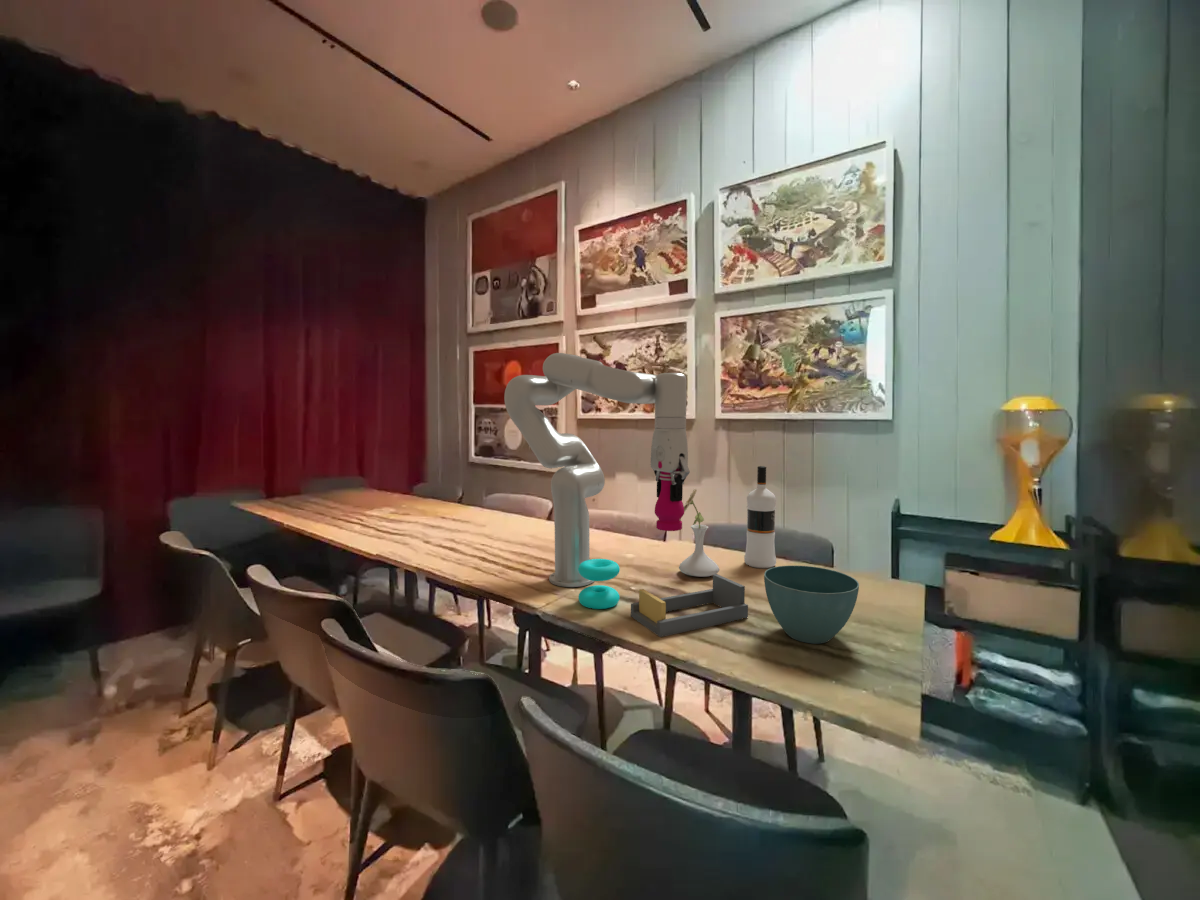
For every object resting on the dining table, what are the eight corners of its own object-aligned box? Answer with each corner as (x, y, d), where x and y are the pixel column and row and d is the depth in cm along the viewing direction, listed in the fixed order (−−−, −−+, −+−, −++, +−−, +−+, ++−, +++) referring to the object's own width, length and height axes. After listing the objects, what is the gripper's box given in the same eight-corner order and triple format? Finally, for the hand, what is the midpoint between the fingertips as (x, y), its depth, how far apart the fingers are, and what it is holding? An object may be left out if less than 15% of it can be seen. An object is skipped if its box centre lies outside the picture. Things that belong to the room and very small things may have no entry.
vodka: (740, 560, 168) (742, 464, 166) (770, 560, 168) (772, 464, 166) (749, 569, 159) (751, 467, 156) (780, 569, 159) (783, 467, 157)
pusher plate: (639, 615, 122) (639, 589, 121) (642, 614, 122) (643, 588, 122) (661, 630, 113) (661, 603, 113) (665, 630, 114) (665, 602, 113)
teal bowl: (846, 622, 119) (847, 567, 118) (867, 659, 101) (869, 595, 100) (760, 615, 123) (761, 562, 122) (766, 650, 105) (767, 588, 104)
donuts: (615, 556, 136) (623, 567, 126) (615, 595, 137) (623, 609, 127) (576, 558, 134) (580, 569, 124) (576, 597, 135) (581, 612, 125)
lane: (630, 616, 122) (630, 586, 122) (713, 600, 132) (713, 572, 132) (660, 637, 111) (660, 604, 111) (747, 618, 121) (748, 587, 121)
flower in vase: (689, 566, 162) (690, 483, 160) (725, 572, 155) (727, 486, 153) (668, 577, 151) (669, 488, 149) (706, 584, 145) (707, 492, 143)
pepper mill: (676, 533, 127) (678, 448, 126) (649, 529, 131) (650, 447, 130) (688, 527, 133) (689, 446, 132) (662, 524, 137) (662, 445, 136)
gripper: (638, 423, 136) (638, 495, 138) (677, 425, 121) (676, 506, 122) (664, 423, 140) (663, 493, 141) (704, 425, 124) (703, 503, 126)
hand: (669, 498), depth 132 cm, fingers closed on pepper mill, 5 cm apart
